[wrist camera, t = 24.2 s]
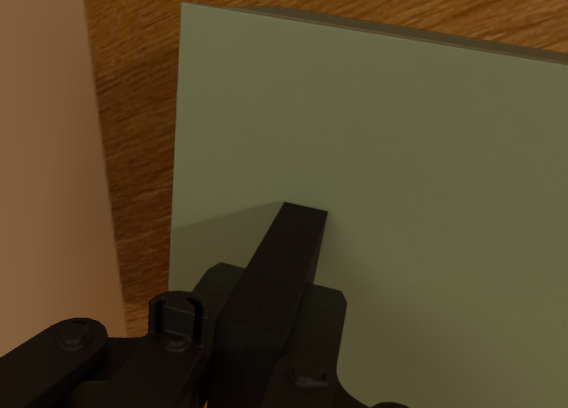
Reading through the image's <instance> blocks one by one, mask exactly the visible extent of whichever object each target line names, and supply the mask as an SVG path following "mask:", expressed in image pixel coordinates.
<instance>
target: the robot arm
mask: <svg viewBox="0 0 568 408" xmlns="http://www.w3.org/2000/svg"><path fill="white" fill-rule="evenodd" d="M327 214H328V211H324V210H319V209H315V208H310V207H306V206H301V205H297V204H293V203H288V202H284V203H283V205H282V207H281V208H280V210H279V212H278V214H277V215H276V217H275V219H274V220H273V222H272V224H271V226H270V227H269V229H268V231H267V233H266V234H265V236H264V238H263V239H262V241H261V243H260V245H259V246H258V248H257V250H256V251H255V253H254V255H253V257H252V258H251V260H250V262H249V264H248V265H247V267H246V268H243V267H239V266H235V265H231V264H227V263H223V262H220V263H218V264H216V265H215V266H213V267H211V268H209V269H207V271H206V272H205V273H204V275H203V276H202V278H201V279H200V281H199V282H198V283H197V284H196V286H195V287H194V289H193V291H191V292H188V291H181V290H177V291H167V292H164V293H162V294H159V295H156V296H155V297H154V298H153V299H151V300H150V301H149V320H148V333H147V334H146V336H143V337H137V338H113V337H108V334H107V331H106V328H105V326H104V325H102V324H101V323H100V322H99V321H96V320H93V319H90V318H72V319H67V320H63V321H60V322H58V323H56V324H54V325H52V326H50V327H49V328H47V329H45V330H44V331H42V332H41V333H39V334H37V335H36V336H34V337H33V338H31V339H29V340H28V341H26V342H25V343H23V344H21V345H20V346H18V347H17V348H15V349H14V350H12V351H10V352H9V353H7V354H6V355H4V356H3V357H1V358H0V408H203V407H204V405H205V403H206V401H207V399H208V401H207V408H409V407H408V406H406V405H403V404H399V403H395V402H380V403H378V404H376V405H374V406H372V407H368V406H367V405H365V404H363V403H361V402H360V401H358V400H357V399H355V398H354V397H352V396H351V395H350V394H349V393H348V392H347V391H346V390H345V389H344V388H343V386H342V385H341V383H340V382H339V379H338V376H337V362H338V356H339V351H340V345H341V339H342V333H343V327H344V321H345V315H346V309H347V301H346V299H345V297H344V295H343V292H342V291H340V290H336V289H332V288H328V287H324V286H320V285H316V284H313V282H314V279H315V274H316V269H317V264H318V259H319V254H320V249H321V244H322V239H323V234H324V229H325V224H326V219H327Z"/></svg>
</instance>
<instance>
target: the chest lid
mask: <svg viewBox="0 0 568 408" xmlns="http://www.w3.org/2000/svg"><path fill="white" fill-rule="evenodd" d="M284 202H288V203H293V204H297V205H301V206H306V207H310V208H315V209H319V210H324V211H328V214H327V219H326V224H325V229H324V234H323V239H322V244H321V249H320V254H319V259H318V264H317V269H316V274H315V279H314V282H313V284H316V285H320V286H324V287H328V288H332V289H336V290H340V291H342V292H343V295H344V297H345V299H346V301H347V309H346V315H345V321H344V327H343V333H342V339H341V345H340V351H339V356H338V362H337V376H338V379H339V382H340V383H341V385H342V386H343V388H344V389H345V390H346V391H347V392H348V393H349V394H350V395H351V396H352V397H354V398H355V399H357V400H358V401H360V402H361V403H363V404H365V405H367V406H368V407H372V406H374V405H376V404H378V403H380V402H395V403H399V404H403V405H406V406H408V407H409V408H568V63H561V62H555V61H549V60H543V59H537V58H531V57H525V56H519V55H512V54H506V53H500V52H494V51H488V50H482V49H476V48H470V47H464V46H457V45H451V44H445V43H439V42H433V41H427V40H421V39H415V38H408V37H402V36H396V35H390V34H384V33H378V32H372V31H366V30H360V29H353V28H347V27H341V26H335V25H329V24H323V23H317V22H311V21H304V20H298V19H292V18H286V17H280V16H274V15H268V14H262V13H256V12H249V11H243V10H237V9H231V8H225V7H219V6H213V5H207V4H201V3H194V2H182V3H181V14H180V36H179V59H178V81H177V104H176V126H175V149H174V171H173V194H172V216H171V238H170V261H169V283H168V291H177V290H181V291H188V292H191V291H193V289H194V287H195V286H196V284H197V283H198V282H199V281H200V279H201V278H202V276H203V275H204V273H205V272H206V271H207V269H209V268H211V267H213V266H215V265H216V264H218V263H220V262H223V263H227V264H231V265H235V266H239V267H243V268H246V267H247V265H248V264H249V262H250V260H251V258H252V257H253V255H254V253H255V251H256V250H257V248H258V246H259V245H260V243H261V241H262V239H263V238H264V236H265V234H266V233H267V231H268V229H269V227H270V226H271V224H272V222H273V220H274V219H275V217H276V215H277V214H278V212H279V210H280V208H281V207H282V205H283V203H284Z"/></svg>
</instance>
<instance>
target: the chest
mask: <svg viewBox="0 0 568 408" xmlns="http://www.w3.org/2000/svg"><path fill="white" fill-rule="evenodd" d="M226 8H231V9H237V10H243V11H249V12H256V13H262V14H268V15H274V16H280V17H286V18H292V19H298V20H304V21H311V22H317V23H323V24H329V25H335V26H341V27H347V28H353V29H360V30H366V31H372V32H378V33H384V34H390V35H396V36H402V37H408V38H415V39H421V40H427V41H433V42H439V43H445V44H451V45H457V46H464V47H470V48H476V49H482V50H488V51H494V52H500V53H506V54H512V55H519V56H525V57H531V58H537V59H543V60H549V61H555V62H561V63H568V53H561V52H555V51H549V50H543V49H537V48H531V47H524V46H518V45H512V44H506V43H500V42H494V41H488V40H481V39H475V38H469V37H463V36H457V35H451V34H445V33H438V32H432V31H426V30H420V29H414V28H408V27H402V26H395V25H389V24H383V23H377V22H371V21H365V20H358V19H352V18H346V17H340V16H334V15H328V14H322V13H315V12H309V11H303V10H297V9H291V8H285V7H279V6H230V7H226Z"/></svg>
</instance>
